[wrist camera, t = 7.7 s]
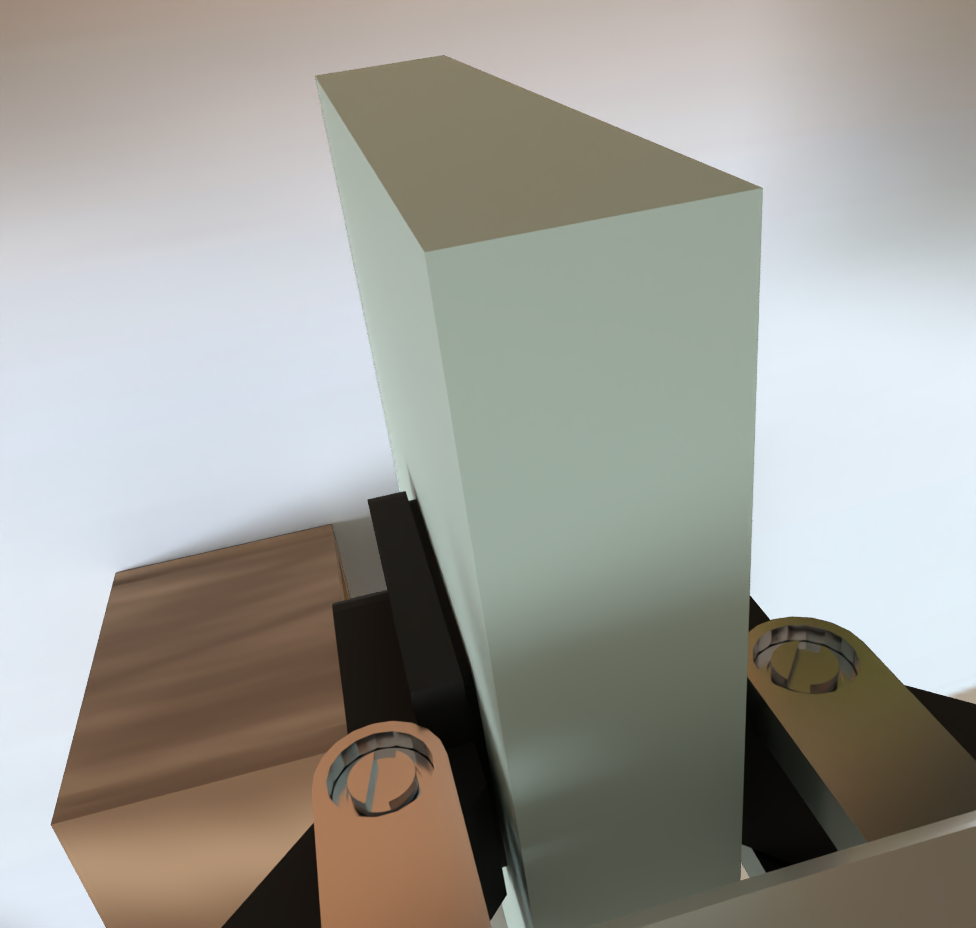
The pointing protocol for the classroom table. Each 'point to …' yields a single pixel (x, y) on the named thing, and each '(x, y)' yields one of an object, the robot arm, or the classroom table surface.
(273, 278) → the classroom table surface
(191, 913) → the cabinet
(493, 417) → the door
